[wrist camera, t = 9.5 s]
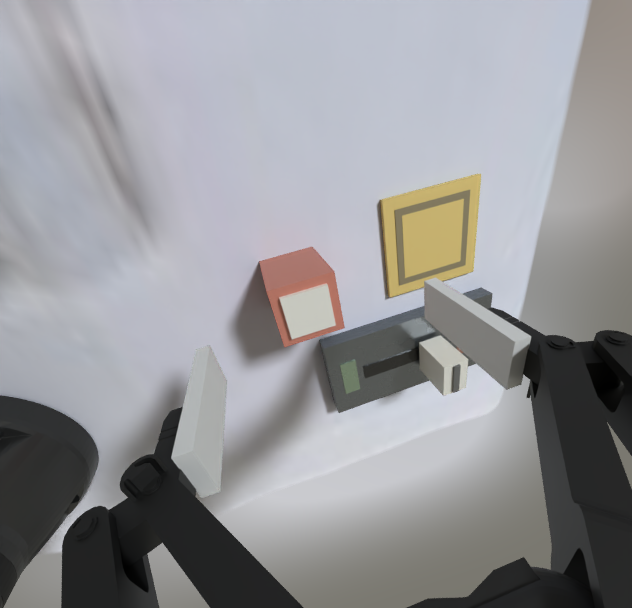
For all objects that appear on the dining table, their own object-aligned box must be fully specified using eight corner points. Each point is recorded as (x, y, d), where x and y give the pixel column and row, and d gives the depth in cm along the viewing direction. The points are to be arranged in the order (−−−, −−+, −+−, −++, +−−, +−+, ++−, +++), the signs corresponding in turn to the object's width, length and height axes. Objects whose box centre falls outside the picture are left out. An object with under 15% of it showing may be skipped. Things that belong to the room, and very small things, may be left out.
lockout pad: (388, 295, 28) (390, 297, 27) (380, 199, 23) (382, 200, 23) (470, 270, 29) (474, 271, 28) (477, 173, 24) (481, 174, 24)
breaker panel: (334, 402, 32) (339, 413, 31) (319, 340, 28) (323, 349, 27) (474, 353, 35) (484, 361, 33) (481, 287, 30) (493, 293, 29)
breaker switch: (419, 368, 31) (444, 397, 27) (419, 342, 29) (445, 369, 25) (439, 361, 31) (467, 389, 27) (440, 335, 29) (469, 360, 25)
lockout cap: (274, 308, 25) (285, 349, 20) (259, 261, 23) (266, 293, 18) (322, 293, 26) (345, 330, 20) (312, 246, 24) (335, 273, 18)
